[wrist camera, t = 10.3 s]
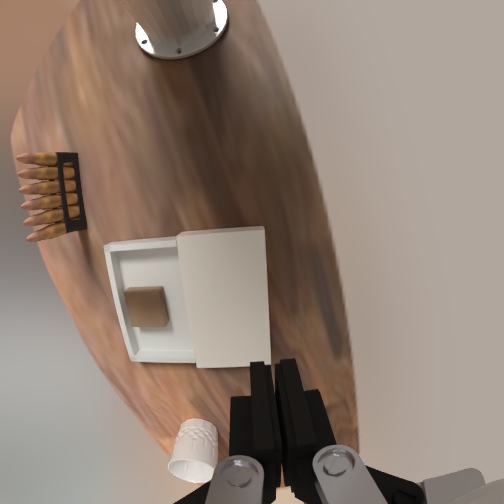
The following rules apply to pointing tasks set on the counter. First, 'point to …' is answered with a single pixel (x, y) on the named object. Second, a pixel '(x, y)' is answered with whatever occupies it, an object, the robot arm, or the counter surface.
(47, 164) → the ammunition clip
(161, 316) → the walnut tile
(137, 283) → the box
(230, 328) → the platform
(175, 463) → the white cup
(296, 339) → the counter surface
